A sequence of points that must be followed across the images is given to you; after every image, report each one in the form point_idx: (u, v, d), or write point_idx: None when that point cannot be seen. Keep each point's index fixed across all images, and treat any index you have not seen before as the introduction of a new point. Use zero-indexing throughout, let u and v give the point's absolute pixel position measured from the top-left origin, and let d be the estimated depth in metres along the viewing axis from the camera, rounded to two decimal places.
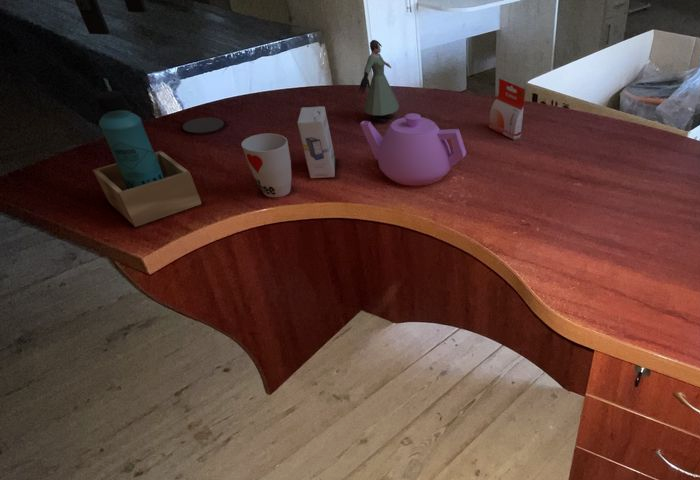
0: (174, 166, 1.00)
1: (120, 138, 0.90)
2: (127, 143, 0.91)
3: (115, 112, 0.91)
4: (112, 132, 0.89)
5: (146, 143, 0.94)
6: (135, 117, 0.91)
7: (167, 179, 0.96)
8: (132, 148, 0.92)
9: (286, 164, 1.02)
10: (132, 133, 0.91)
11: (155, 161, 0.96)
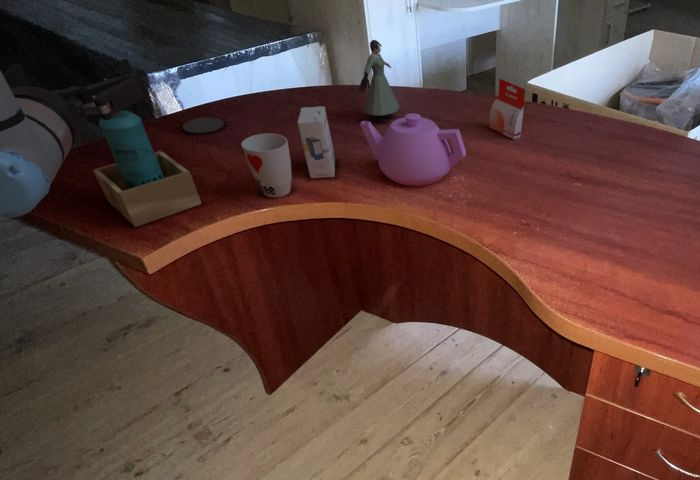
0: (174, 166, 1.00)
1: (120, 138, 0.90)
2: (127, 143, 0.91)
3: None
4: (112, 132, 0.89)
5: (146, 143, 0.94)
6: (135, 117, 0.91)
7: (167, 179, 0.96)
8: (132, 148, 0.92)
9: (286, 164, 1.02)
10: (132, 133, 0.91)
11: (155, 161, 0.96)
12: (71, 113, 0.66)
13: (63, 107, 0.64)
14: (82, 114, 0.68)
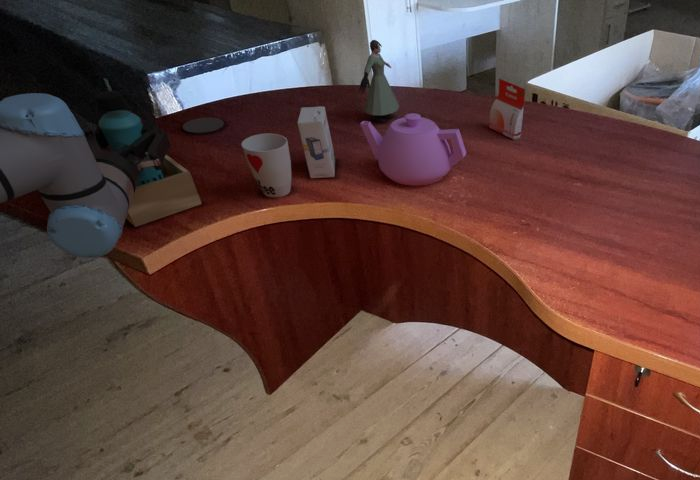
0: (174, 166, 1.00)
1: (119, 138, 0.90)
2: (127, 143, 0.91)
3: (115, 112, 0.91)
4: (112, 131, 0.89)
5: None
6: (135, 117, 0.91)
7: (167, 179, 0.96)
8: None
9: (286, 164, 1.02)
10: (132, 133, 0.91)
11: None
12: (132, 170, 0.83)
13: (127, 166, 0.82)
14: (139, 169, 0.85)
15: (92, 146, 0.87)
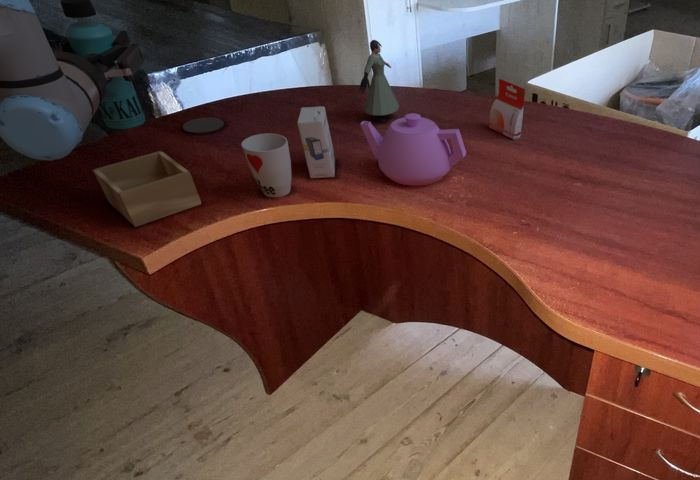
0: (174, 166, 1.00)
1: (87, 49, 0.83)
2: None
3: (83, 22, 0.84)
4: (79, 41, 0.82)
5: None
6: (105, 28, 0.84)
7: (167, 179, 0.96)
8: None
9: (286, 164, 1.02)
10: (101, 44, 0.83)
11: (128, 81, 0.89)
12: (98, 76, 0.75)
13: (92, 70, 0.74)
14: (107, 78, 0.78)
15: None
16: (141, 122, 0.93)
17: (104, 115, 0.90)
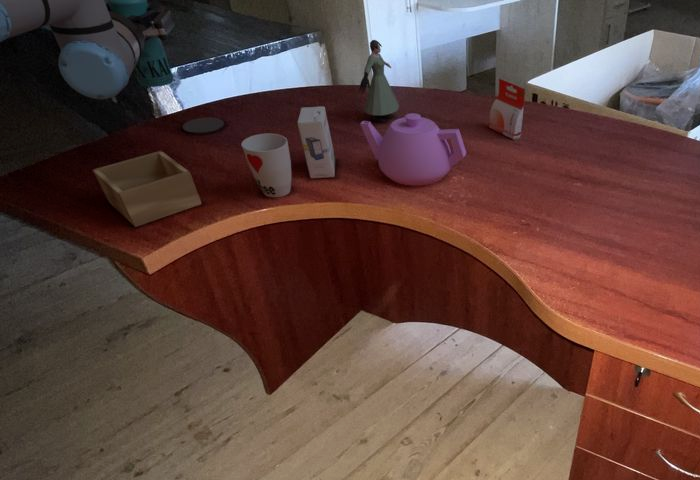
0: (174, 166, 1.00)
1: (126, 13, 0.94)
2: None
3: None
4: (119, 6, 0.94)
5: None
6: None
7: (167, 179, 0.96)
8: None
9: (286, 164, 1.02)
10: (138, 9, 0.95)
11: (160, 43, 1.01)
12: (138, 33, 0.87)
13: (133, 28, 0.86)
14: (145, 36, 0.90)
15: None
16: (170, 81, 1.05)
17: (138, 74, 1.02)
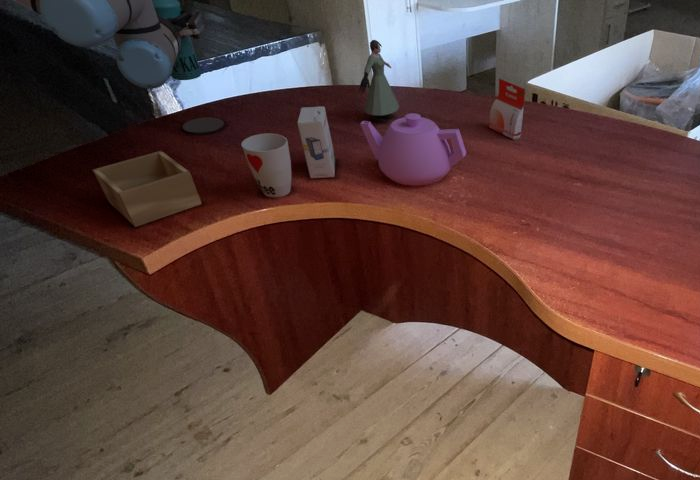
0: (174, 166, 1.00)
1: (163, 16, 1.09)
2: None
3: None
4: (157, 10, 1.08)
5: None
6: (175, 0, 1.10)
7: (167, 179, 0.96)
8: None
9: (286, 164, 1.02)
10: (173, 12, 1.09)
11: (190, 42, 1.15)
12: (177, 33, 1.01)
13: (173, 28, 1.00)
14: (181, 36, 1.04)
15: None
16: (198, 75, 1.19)
17: None
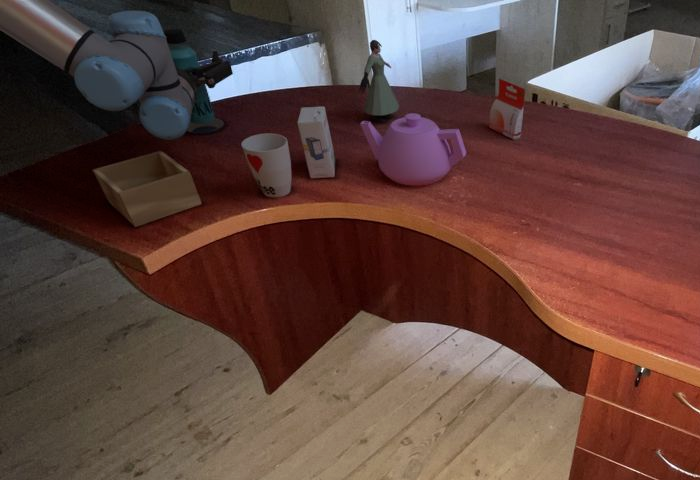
0: (174, 166, 1.00)
1: (180, 66, 1.16)
2: None
3: (176, 46, 1.17)
4: (175, 60, 1.15)
5: None
6: (191, 50, 1.17)
7: (167, 179, 0.96)
8: None
9: (286, 164, 1.02)
10: (189, 62, 1.16)
11: (205, 88, 1.22)
12: (193, 83, 1.08)
13: (189, 79, 1.07)
14: (197, 84, 1.10)
15: None
16: (212, 118, 1.26)
17: None
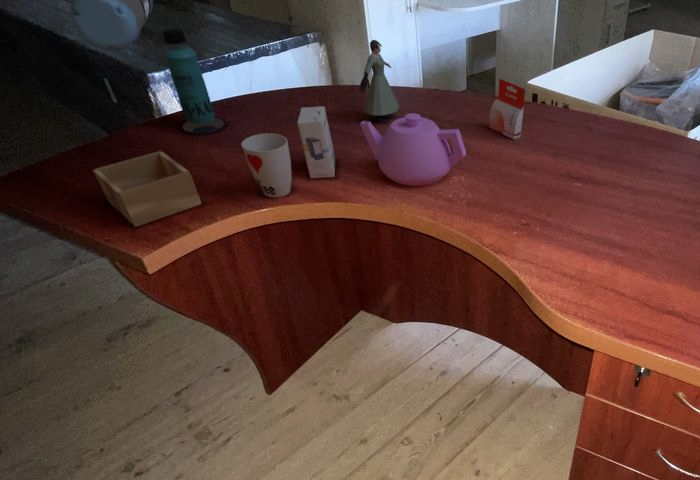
0: (174, 166, 1.00)
1: (180, 66, 1.16)
2: (185, 71, 1.16)
3: (176, 46, 1.17)
4: (175, 60, 1.15)
5: (199, 72, 1.19)
6: (191, 50, 1.17)
7: (167, 179, 0.96)
8: (189, 74, 1.17)
9: (286, 164, 1.02)
10: (189, 62, 1.16)
11: (205, 88, 1.22)
12: None
13: None
14: None
15: None
16: (212, 118, 1.26)
17: (187, 113, 1.23)
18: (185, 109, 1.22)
